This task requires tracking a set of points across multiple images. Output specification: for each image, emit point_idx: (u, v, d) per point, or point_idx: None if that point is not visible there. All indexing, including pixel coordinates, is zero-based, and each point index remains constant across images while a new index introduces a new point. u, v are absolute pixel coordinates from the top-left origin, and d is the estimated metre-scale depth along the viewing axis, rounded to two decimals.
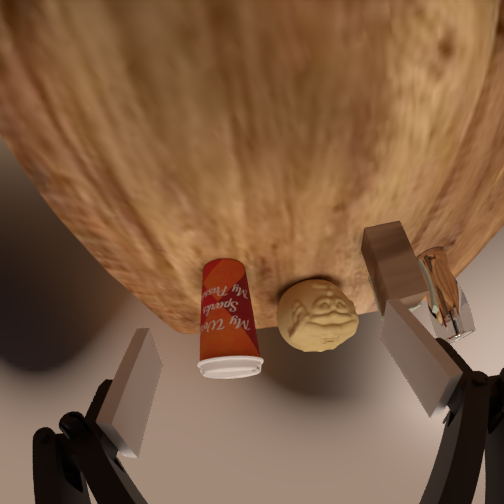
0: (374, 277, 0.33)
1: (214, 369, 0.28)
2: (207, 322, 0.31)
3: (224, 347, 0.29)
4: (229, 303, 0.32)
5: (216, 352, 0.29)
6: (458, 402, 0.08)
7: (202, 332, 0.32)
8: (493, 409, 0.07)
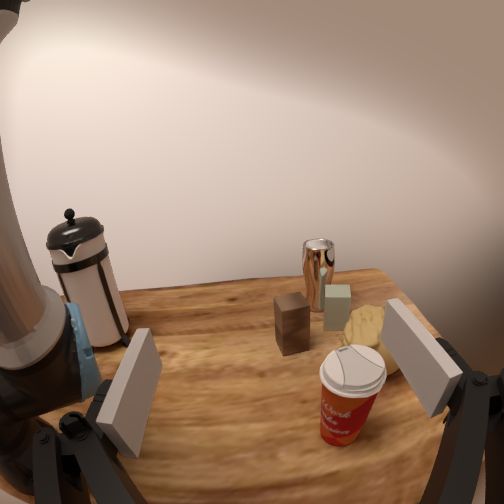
0: (299, 329, 0.48)
1: (331, 378, 0.26)
2: (331, 413, 0.28)
3: (323, 384, 0.28)
4: None
5: (326, 387, 0.27)
6: (458, 402, 0.08)
7: (339, 412, 0.27)
8: (493, 409, 0.07)
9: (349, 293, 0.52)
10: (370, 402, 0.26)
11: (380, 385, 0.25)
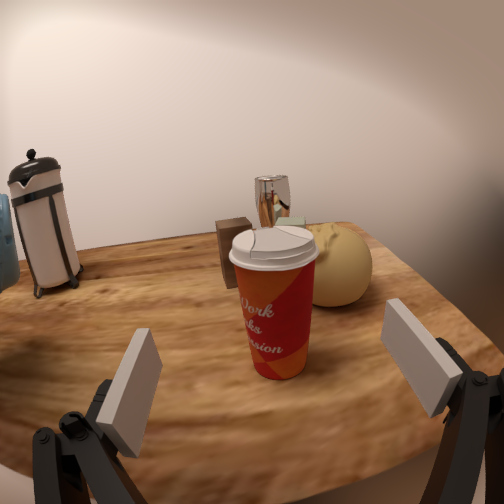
0: None
1: (236, 247, 0.23)
2: (249, 311, 0.24)
3: None
4: None
5: (235, 267, 0.24)
6: (458, 402, 0.08)
7: (257, 306, 0.23)
8: (493, 408, 0.07)
9: (303, 222, 0.49)
10: (299, 292, 0.22)
11: (306, 260, 0.21)
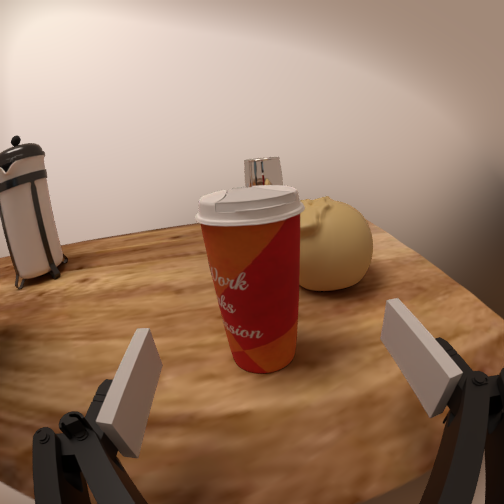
0: None
1: (201, 203, 0.18)
2: (220, 284, 0.20)
3: None
4: None
5: (202, 228, 0.19)
6: (458, 402, 0.08)
7: (228, 275, 0.19)
8: (493, 408, 0.07)
9: None
10: (280, 257, 0.18)
11: (286, 214, 0.17)
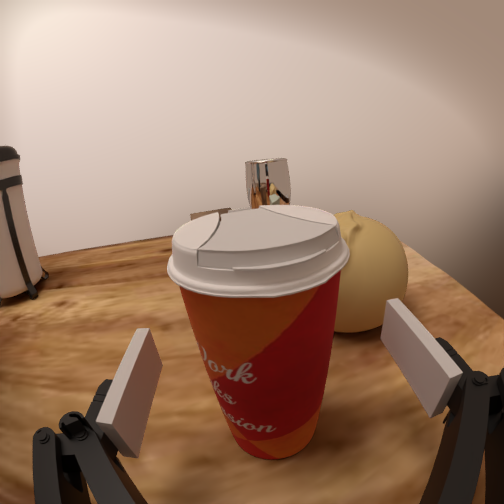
0: None
1: (175, 244, 0.10)
2: (211, 368, 0.12)
3: None
4: None
5: None
6: (458, 402, 0.08)
7: (223, 363, 0.11)
8: (493, 409, 0.07)
9: None
10: (309, 338, 0.10)
11: (327, 270, 0.09)
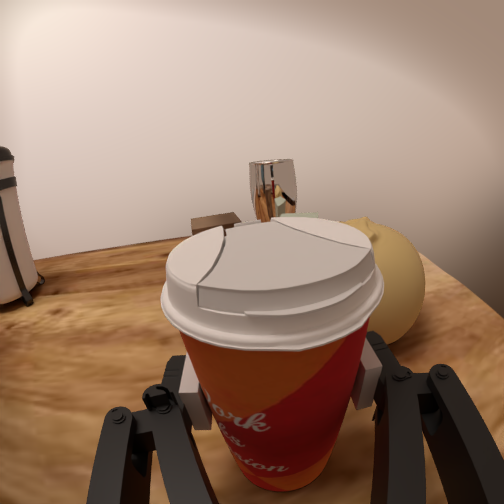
0: None
1: (169, 273, 0.08)
2: (216, 412, 0.10)
3: None
4: None
5: None
6: (383, 399, 0.10)
7: (230, 410, 0.09)
8: (424, 407, 0.09)
9: None
10: (335, 384, 0.08)
11: (363, 309, 0.07)
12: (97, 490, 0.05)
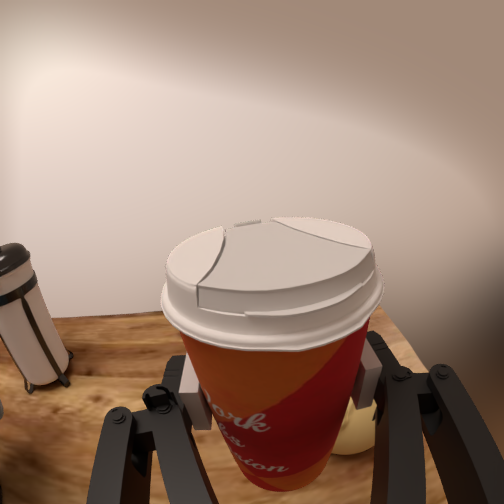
0: None
1: (168, 273, 0.08)
2: (216, 412, 0.09)
3: None
4: None
5: None
6: (383, 400, 0.10)
7: (230, 410, 0.09)
8: (424, 407, 0.09)
9: None
10: (335, 385, 0.08)
11: (363, 309, 0.07)
12: (97, 490, 0.05)
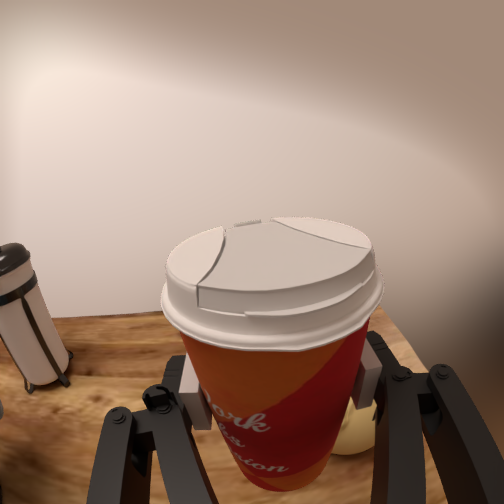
0: None
1: (168, 273, 0.08)
2: (215, 412, 0.10)
3: None
4: None
5: None
6: (383, 400, 0.10)
7: (230, 410, 0.09)
8: (424, 407, 0.09)
9: None
10: (335, 385, 0.08)
11: (363, 309, 0.07)
12: (97, 490, 0.05)
